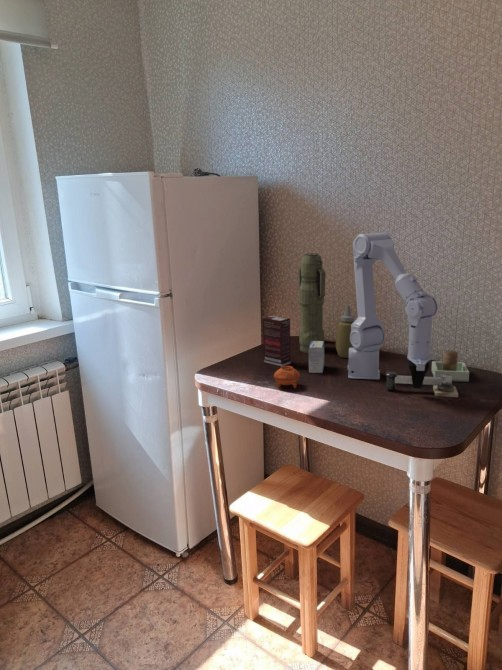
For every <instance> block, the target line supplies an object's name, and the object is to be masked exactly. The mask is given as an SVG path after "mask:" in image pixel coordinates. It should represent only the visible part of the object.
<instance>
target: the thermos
mask: <svg viewBox="0 0 502 670" xmlns="http://www.w3.org/2000/svg"><path fill="white" fill-rule="evenodd" d="M324 269H325V268H323V260H322V256H321V255H320V254H319V253H305V254H303V255H302V258H301V261H300V267H299V269H298V295H299V299H298V300H299V301H298V303H299V305H300V330H299V334H298V335H299V337H298V339H299V341H298V342H299V351H300V352H301V353H306V354H309V347H310V344H311V341H324V342H325V331H324V329H323V327H324V326H323V322H324V321H323V319H324V318H323V316H324V313H323V309H324V308H323V307H324V306H323V305H324V303H325V296H326V272H325V270H324Z"/></svg>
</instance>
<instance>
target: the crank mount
mask: <svg viewBox="0 0 502 670" xmlns="http://www.w3.org/2000/svg"><path fill="white" fill-rule="evenodd" d="M398 375H399V376H402V375H400V374H398ZM432 389H433V392H434V396H435V397H446V398H459V392H458V389H457V388H456V386H455V385H454V384H452V385H451V386H450V387H445V386H441V385H432Z"/></svg>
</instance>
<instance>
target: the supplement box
mask: <svg viewBox="0 0 502 670" xmlns="http://www.w3.org/2000/svg"><path fill="white" fill-rule="evenodd" d="M262 338H263V339H262V340H263V343H262V344H263V345H262V346H263V362H264V363H267V364H269V365H273V366H274V365H275V366H278V367H283V366H289V365H290V364H291V358H292V357H291V318H289V317H283V316H277V315H267V316H263V317H262Z"/></svg>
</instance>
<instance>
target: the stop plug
mask: <svg viewBox="0 0 502 670" xmlns="http://www.w3.org/2000/svg"><path fill="white" fill-rule="evenodd" d="M458 354H459V352H458V351H456V350H449V349H448V350H444V351H443V359H442V360H443V361H442V362H443V370H444V371H457V362H458V357H459V355H458Z"/></svg>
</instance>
